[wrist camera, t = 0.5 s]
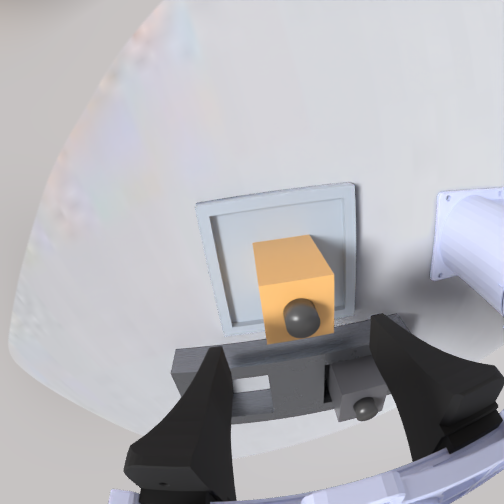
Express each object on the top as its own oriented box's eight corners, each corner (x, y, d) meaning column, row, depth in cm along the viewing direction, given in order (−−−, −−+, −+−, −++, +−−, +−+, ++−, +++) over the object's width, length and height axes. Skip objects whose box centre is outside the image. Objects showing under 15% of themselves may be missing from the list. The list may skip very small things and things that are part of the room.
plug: (309, 234, 21) (341, 285, 14) (312, 283, 23) (339, 345, 16) (252, 242, 21) (260, 298, 14) (259, 291, 23) (269, 358, 16)
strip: (396, 313, 25) (410, 333, 22) (385, 372, 28) (395, 392, 25) (175, 349, 25) (170, 373, 22) (198, 404, 28) (196, 426, 26)
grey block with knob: (365, 336, 26) (394, 393, 19) (361, 366, 27) (386, 420, 21) (324, 345, 26) (346, 406, 19) (323, 374, 27) (341, 432, 21)
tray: (349, 182, 20) (354, 184, 19) (350, 308, 24) (354, 315, 23) (196, 202, 20) (194, 206, 19) (224, 328, 24) (224, 336, 23)
